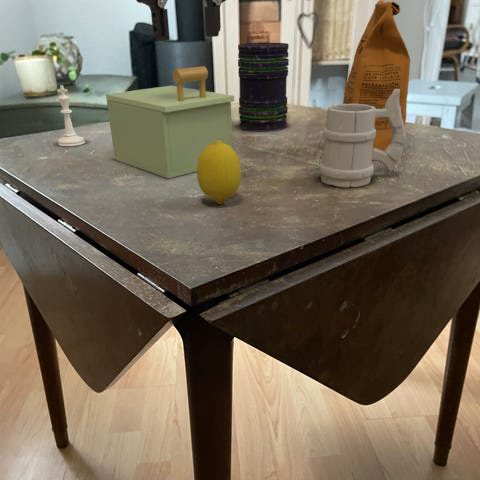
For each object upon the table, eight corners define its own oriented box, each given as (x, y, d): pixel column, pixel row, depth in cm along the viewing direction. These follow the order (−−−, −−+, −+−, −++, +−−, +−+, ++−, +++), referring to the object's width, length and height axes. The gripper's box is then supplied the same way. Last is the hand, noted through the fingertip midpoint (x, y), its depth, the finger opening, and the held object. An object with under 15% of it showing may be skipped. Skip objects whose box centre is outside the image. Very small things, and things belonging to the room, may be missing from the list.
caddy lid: (234, 101, 82) (233, 64, 79) (165, 112, 75) (162, 73, 72) (171, 90, 92) (169, 58, 90) (106, 99, 85) (101, 64, 83)
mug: (313, 173, 80) (317, 87, 74) (390, 170, 81) (401, 84, 75) (324, 189, 74) (330, 95, 68) (408, 185, 75) (422, 92, 69)
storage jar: (251, 120, 116) (251, 42, 109) (294, 123, 112) (296, 42, 105) (230, 129, 109) (228, 46, 101) (275, 132, 105) (277, 47, 97)
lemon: (190, 203, 70) (186, 140, 66) (223, 194, 73) (221, 133, 69) (216, 214, 66) (213, 148, 62) (250, 204, 69) (249, 140, 65)
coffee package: (393, 143, 96) (411, -1, 85) (403, 161, 85) (425, 0, 74) (337, 142, 97) (347, 0, 86) (340, 160, 87) (352, 1, 75)
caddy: (232, 162, 87) (231, 101, 82) (168, 178, 80) (162, 112, 75) (176, 146, 97) (171, 90, 92) (114, 159, 90) (106, 100, 85)
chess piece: (63, 140, 103) (52, 83, 98) (88, 140, 103) (79, 83, 98) (54, 146, 99) (43, 87, 94) (80, 146, 99) (70, 87, 93)
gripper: (205, -101, 73) (211, 34, 81) (112, -110, 65) (129, 41, 74) (242, -109, 68) (244, 36, 77) (146, -120, 60) (160, 43, 69)
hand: (188, 38), depth 75 cm, fingers open, 8 cm apart
